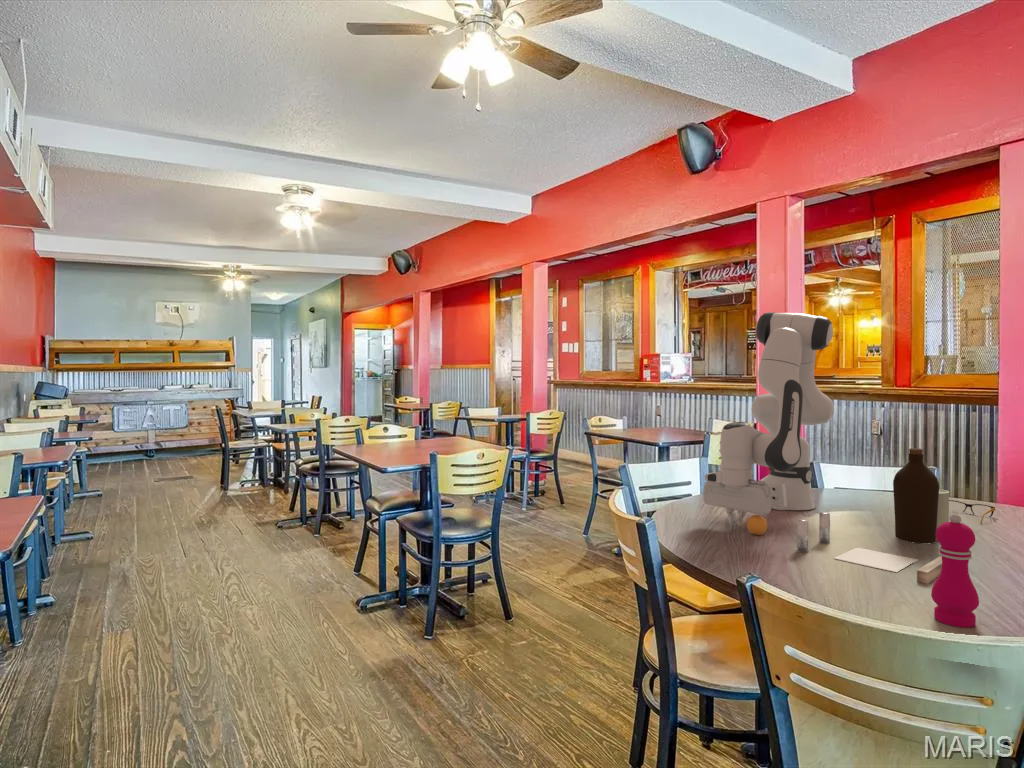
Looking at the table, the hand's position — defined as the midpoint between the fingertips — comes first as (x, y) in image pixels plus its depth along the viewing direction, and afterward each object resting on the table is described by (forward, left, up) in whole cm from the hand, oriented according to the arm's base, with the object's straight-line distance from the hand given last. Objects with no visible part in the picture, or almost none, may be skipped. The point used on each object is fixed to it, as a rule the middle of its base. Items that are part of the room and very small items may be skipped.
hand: (735, 524), depth 180 cm
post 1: (+22, -6, -2) cm, 23 cm away
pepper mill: (+61, -29, -2) cm, 68 cm away
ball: (+6, 0, +1) cm, 7 cm away
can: (+36, +43, -2) cm, 57 cm away
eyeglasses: (+37, +69, -2) cm, 78 cm away
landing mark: (+37, 0, -2) cm, 38 cm away
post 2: (+22, +6, -2) cm, 23 cm away
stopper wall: (+50, 0, -2) cm, 51 cm away
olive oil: (+37, +28, -2) cm, 47 cm away
